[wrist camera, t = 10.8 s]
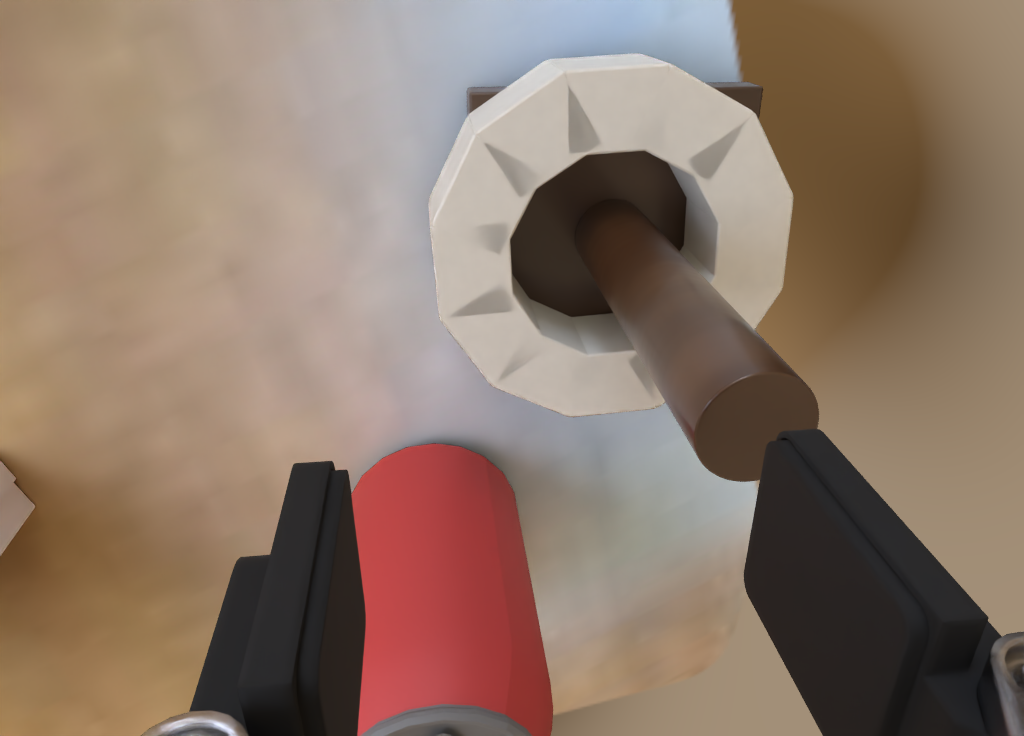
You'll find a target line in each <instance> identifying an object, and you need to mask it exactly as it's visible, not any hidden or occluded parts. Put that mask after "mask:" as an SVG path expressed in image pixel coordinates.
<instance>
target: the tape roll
mask: <svg viewBox="0 0 1024 736" xmlns="http://www.w3.org/2000/svg"><path fill="white" fill-rule="evenodd" d="M634 151H646V152H648V153H650V154H652V155H654V156H656V157H658V158H659V159H661V160H663V161H665V162H667V163H668V164H669V166H670V168H671V170H672V172H673V173H674V175H675V177H676V179H677V181H678V183H679V185H680V186H681V188H682V190H683V192H684V194H685V196H686V216H685V234H684V246H683V247H682V249H681V250H680V253H681V254H682V255H683V256H684V257H685V258H686V259H687V260H688V261H689V262H690V263H691V264H692V265H693V266H694V267H695V268H696V269H697V270H698V271H699V272H700V274H701V275H702V276H703V277H704V278H705V279H706V280H707V281H708V282H709V283H710V284H711V285H712V286H713V287H714V288H715V289H716V290H717V291H718V292H719V293H720V294H721V295H722V297H723V298H724V299H725V300H726V301H727V302H728V303H729V304H730V305H731V306H732V307H733V308H734V309H735V310H736V311H737V312H738V313H739V314H740V315H741V316H742V317H743V318H744V320H745V321H746V322H747V323H748V324H749V325H750V326H751V327H752V328H753V329H754V330H755V329H756V327H757V326H758V324H759V323H760V321H761V320H762V318H763V317H764V315H765V314H766V312H767V311H768V310H769V308H770V307H771V305H772V304H773V302H774V301H775V299H776V298H777V296H778V295H779V293H780V292H781V290H782V287H783V281H784V273H785V265H786V257H787V249H788V240H789V233H790V224H791V216H792V208H793V193H792V191H791V189H790V187H789V185H788V182H787V180H786V178H785V176H784V174H783V172H782V170H781V167H780V165H779V163H778V161H777V159H776V157H775V154H774V152H773V150H772V148H771V146H770V144H769V141H768V139H767V137H766V135H765V133H764V131H763V128H762V126H761V124H760V122H759V120H758V118H757V115H756V114H755V113H753V111H752V110H750V109H749V108H747V107H745V106H744V105H742V104H740V103H738V102H737V101H735V100H733V99H731V98H730V97H728V96H726V95H725V94H723V93H721V92H719V91H718V90H716V89H714V88H713V87H711V86H709V85H707V84H706V83H704V82H702V81H700V80H699V79H697V78H695V77H694V76H692V75H690V74H688V73H687V72H685V71H683V70H682V69H680V68H678V67H676V66H675V65H673V64H670V63H667V62H664V61H662V60H659V59H656V58H653V57H650V56H647V55H644V54H639V53H633V54H618V55H603V56H588V57H573V58H558V59H549V60H545V61H543V62H542V63H541V64H539V65H538V66H536V67H535V68H533V69H532V70H531V71H529V72H528V73H526V74H525V75H524V76H522V77H521V78H519V79H518V80H516V81H515V82H514V83H512V84H511V85H509V86H508V87H507V88H505V89H504V90H502V91H501V92H499V93H498V94H497V95H495V96H494V97H492V98H491V99H489V100H488V101H487V102H485V103H484V104H482V105H481V106H480V107H478V108H477V109H475V110H474V111H472V112H471V113H470V114H469V115H468V117H467V118H466V119H465V121H464V123H463V126H462V128H461V130H460V132H459V134H458V136H457V139H456V141H455V143H454V145H453V147H452V150H451V152H450V154H449V156H448V158H447V160H446V163H445V165H444V167H443V169H442V171H441V173H440V176H439V178H438V180H437V182H436V184H435V186H434V189H433V191H432V193H431V195H430V199H429V220H430V234H431V243H432V253H433V263H434V272H435V282H436V291H437V301H438V311H439V318H440V321H441V322H442V323H443V324H444V326H445V327H446V328H447V330H448V331H449V332H450V333H451V335H452V336H453V337H454V339H455V340H456V341H457V342H458V344H459V345H460V346H461V348H462V349H463V350H464V351H465V353H466V354H467V355H468V357H469V358H470V359H471V360H472V362H473V363H474V364H475V366H476V367H477V368H478V369H479V371H480V372H481V373H482V375H483V376H484V377H485V378H486V380H487V381H488V382H489V383H490V385H491V386H493V387H494V388H497V389H499V390H502V391H504V392H507V393H509V394H512V395H514V396H517V397H519V398H522V399H525V400H527V401H530V402H532V403H535V404H537V405H540V406H542V407H545V408H547V409H550V410H552V411H555V412H558V413H560V414H563V415H565V416H568V417H579V416H589V415H598V414H608V413H618V412H628V411H637V410H647V409H654V408H655V407H656V408H657V407H659V406H661V405H662V404H664V403H666V402H665V400H664V398H663V397H662V395H661V393H660V392H659V390H658V388H657V386H656V385H655V383H654V381H653V380H652V378H651V376H650V375H649V373H648V371H647V369H646V368H645V366H644V364H643V363H642V361H641V359H640V357H639V356H638V354H637V352H636V351H635V349H634V347H633V346H632V344H631V342H630V340H629V339H628V337H627V335H626V334H625V332H624V330H623V328H622V327H621V325H620V323H619V322H618V320H617V318H616V316H615V315H614V313H610V314H599V315H588V316H578V317H570V316H568V315H565V314H563V313H561V312H558V311H556V310H554V309H552V308H549V307H547V306H545V305H543V304H540V303H538V302H536V301H533V300H531V299H529V297H528V296H527V295H526V293H525V292H524V290H523V289H522V287H521V286H520V285H519V283H518V282H517V280H516V279H515V277H514V276H513V274H512V264H511V246H510V239H511V237H512V235H513V233H514V232H515V230H516V228H517V226H518V224H519V222H520V220H521V218H522V216H523V214H524V212H525V210H526V208H527V206H528V204H529V202H530V200H531V199H532V197H533V195H534V193H535V191H536V189H537V188H539V187H540V186H542V185H543V184H545V183H546V182H548V181H549V180H551V179H552V178H553V177H555V176H556V175H558V174H559V173H561V172H562V171H564V170H565V169H567V168H568V167H570V166H571V165H573V164H574V163H576V162H577V161H579V160H580V159H582V158H583V157H585V156H586V155H595V154H608V153H621V152H634Z"/></svg>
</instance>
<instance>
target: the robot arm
mask: <svg viewBox="0 0 1024 736" xmlns="http://www.w3.org/2000/svg"><path fill="white" fill-rule="evenodd" d="M744 583H745V588H746V592H747V594H748V597H749V599H750V600H751V602H752V604H753V606H754V608H755V610H756V611H757V613H758V615H759V617H760V619H761V621H762V623H763V625H764V627H765V628H766V630H767V632H768V634H769V636H770V638H771V640H772V641H773V643H774V645H775V647H776V649H777V651H778V653H779V654H780V656H781V658H782V660H783V662H784V664H785V666H786V668H787V669H788V671H789V673H790V675H791V677H792V679H793V681H794V682H795V684H796V686H797V688H798V690H799V692H800V694H801V695H802V698H803V699H804V701H805V703H806V705H807V707H808V708H809V710H810V712H811V714H812V716H813V718H814V720H815V722H816V724H817V725H818V727H819V729H820V731H821V733H822V735H823V736H1024V632H1017V633H1011V634H1006V635H1005V636H1003V637H1001V635H1000V634H999V633H998V632H997V631H996V630H995V629H994V627H993V626H992V625H991V624H990V623H989V622H988V616H987V615H986V614H985V613H984V612H983V611H982V610H981V609H980V607H979V606H978V605H977V604H976V603H975V602H974V601H973V600H972V599H971V597H970V596H969V595H968V594H967V593H966V592H965V591H964V590H963V589H962V587H961V586H960V585H959V584H958V583H957V582H956V581H955V579H954V578H953V577H952V576H951V575H950V574H949V573H948V572H947V571H946V569H945V568H944V567H943V566H942V565H941V564H940V563H939V562H938V560H937V559H936V558H935V557H934V556H933V555H932V554H931V553H930V551H929V550H928V549H927V548H926V547H925V546H924V545H923V544H922V543H921V541H920V540H919V539H918V538H917V537H916V536H915V535H914V534H913V532H912V531H911V530H910V529H909V528H908V527H907V526H906V525H905V524H904V522H903V521H902V520H901V519H900V518H899V517H898V516H897V515H896V513H895V512H894V511H893V510H892V509H891V508H890V507H889V506H888V504H887V503H886V502H885V501H884V500H883V499H882V498H881V497H880V495H879V494H878V493H877V492H876V491H875V490H874V489H873V488H872V486H871V485H870V484H869V483H868V482H867V481H866V480H865V479H864V478H863V476H862V475H861V474H860V473H859V472H858V471H857V470H856V469H855V468H854V466H853V465H852V464H851V463H850V462H849V461H848V460H847V459H846V458H845V456H844V455H843V454H842V453H841V452H840V451H839V450H838V448H837V447H836V446H835V445H834V444H833V443H832V442H831V441H830V439H829V438H828V437H827V436H826V435H825V434H824V433H823V432H822V431H821V430H818V429H806V430H791V431H782V432H780V433H779V434H778V436H777V438H776V441H770V442H769V443H768V444H767V446H766V450H765V455H764V461H763V466H762V472H761V478H760V484H759V489H758V495H757V501H756V506H755V512H754V518H753V523H752V529H751V535H750V541H749V546H748V552H747V558H746V563H745V569H744ZM365 630H366V611H365V600H364V592H363V584H362V576H361V568H360V560H359V552H358V544H357V537H356V529H355V521H354V513H353V505H352V497H351V489H350V481H349V474H348V471H347V470H335V467H334V464H333V462H332V461H324V462H309V463H295V464H294V465H293V467H292V471H291V475H290V479H289V483H288V487H287V490H286V494H285V498H284V502H283V506H282V510H281V514H280V518H279V522H278V526H277V530H276V534H275V538H274V542H273V546H272V550H271V554H270V555H262V556H249V557H240V558H239V559H238V560H237V562H236V564H235V566H234V569H233V572H232V575H231V578H230V582H229V585H228V588H227V591H226V595H225V598H224V601H223V604H222V608H221V611H220V614H219V617H218V620H217V624H216V627H215V630H214V633H213V637H212V640H211V643H210V646H209V650H208V653H207V656H206V659H205V663H204V666H203V669H202V672H201V676H200V679H199V682H198V685H197V688H196V692H195V695H194V698H193V701H192V705H191V708H190V711H189V712H187V713H184V714H181V715H177V716H174V717H170V718H168V719H166V720H164V721H163V722H161V723H159V724H157V725H155V726H153V727H151V728H149V729H148V730H147V731H146V732H144V733H143V734H142V735H141V736H357V733H358V720H359V708H360V695H361V682H362V669H363V656H364V643H365Z"/></svg>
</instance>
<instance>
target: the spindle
mask: <svg viewBox="0 0 1024 736" xmlns="http://www.w3.org/2000/svg"><path fill="white" fill-rule="evenodd" d="M706 84H707V85H709V86H711V87H713V88H714V89H716V90H718V91H719V92H721V93H723V94H725V95H726V96H728V97H730V98H731V99H733V100H735V101H737V102H738V103H740V104H742V105H744V106H745V107H747V108H749V109H750V110H752V111H753V113H755V114H756V115H757V118H758V120H759V114H760V107H761V100H762V91H763V88H762V87H761V86H758V85H755V84H752V83H749V82H718V83H706ZM505 88H507V87H471V88H468V89H467V117H468V115H469V114H470V113H471V112H472V111H474V110H475V109H477V108H478V107H480V106H481V105H482V104H484V103H485V102H487V101H488V100H489V99H491V98H492V97H494V96H495V95H497V94H498V93H499V92H501V91H502V90H504V89H505ZM685 216H686V196H685V194H684V192H683V190H682V188H681V186H680V185H679V183H678V181H677V179H676V177H675V175H674V173H673V172H672V170H671V168H670V166H669V164H668V163H667V162H665V161H663V160H661V159H659V158H658V157H656V156H654V155H652V154H650V153H648V152H646V151H634V152H621V153H608V154H595V155H586V156H585V157H583V158H582V159H580V160H579V161H577V162H576V163H574V164H573V165H571V166H570V167H568V168H567V169H565V170H564V171H562V172H561V173H559V174H558V175H556V176H555V177H553V178H552V179H551V180H549V181H548V182H546V183H545V184H543V185H542V186H540V187H539V188H537V189H536V191H535V193H534V195H533V197H532V199H531V200H530V202H529V204H528V206H527V208H526V210H525V212H524V214H523V216H522V218H521V220H520V222H519V224H518V226H517V228H516V230H515V232H514V233H513V235H512V237H511V239H510V246H511V264H512V274H513V276H514V277H515V279H516V280H517V282H518V283H519V285H520V286H521V287H522V289H523V290H524V292H525V293H526V295H527V296H528V297H529V299H531V300H533V301H536V302H538V303H540V304H543V305H545V306H547V307H549V308H552V309H554V310H556V311H558V312H561V313H563V314H565V315H568V316H570V317H578V316H588V315H599V314H610V313H614V315H615V316H616V318H617V320H618V322H619V323H620V325H621V327H622V328H623V330H624V332H625V334H626V335H627V337H628V339H629V340H630V342H631V344H632V346H633V347H634V349H635V351H636V352H637V354H638V356H639V357H640V359H641V361H642V363H643V364H644V366H645V368H646V369H647V371H648V373H649V375H650V376H651V378H652V380H653V381H654V383H655V385H656V386H657V388H658V390H659V392H660V393H661V395H662V397H663V398H664V400H665V402H666V404H667V405H668V407H669V409H670V410H671V412H672V414H673V416H674V417H675V419H676V421H677V422H678V424H679V426H680V427H681V429H682V431H683V433H684V434H685V436H686V438H687V439H688V441H689V443H690V445H691V446H692V448H693V450H694V451H695V453H696V455H697V456H698V458H699V460H700V461H701V463H702V464H703V465H704V466H705V467H706V468H707V469H708V470H709V471H711V472H712V473H713V474H715V475H717V476H719V477H722V478H724V479H727V480H732V481H740V482H747V481H756V480H760V478H761V472H762V466H763V461H764V455H765V450H766V446H767V444H768V443H769V442H770V441H776V438H777V436H778V434H779V433H780V432H782V431H791V430H806V429H817V427H818V421H819V409H818V403H817V400H816V398H815V396H814V394H813V392H812V390H811V389H810V388H809V387H808V386H807V384H806V383H805V382H804V381H803V380H802V379H801V378H800V377H799V376H798V375H797V374H796V373H795V372H794V371H793V370H792V369H791V368H790V367H789V366H788V365H787V364H786V362H785V361H783V359H782V358H781V357H780V356H779V355H778V354H777V353H776V352H775V351H774V350H773V349H772V348H771V347H770V346H769V345H768V344H767V343H766V341H764V339H763V338H762V337H761V336H760V335H759V334H758V333H757V332H756V331H755V330H754V329H753V328H752V327H751V326H750V325H749V324H748V323H747V322H746V321H745V320H744V318H743V317H742V316H741V315H740V314H739V313H738V312H737V311H736V310H735V309H734V308H733V307H732V306H731V305H730V304H729V303H728V302H727V301H726V300H725V299H724V298H723V297H722V295H721V294H720V293H719V292H718V291H717V290H716V289H715V288H714V287H713V286H712V285H711V284H710V283H709V282H708V281H707V280H706V279H705V278H704V277H703V276H702V275H701V274H700V272H699V271H698V270H697V269H696V268H695V267H694V266H693V265H692V264H691V263H690V262H689V261H688V260H687V259H686V258H685V257H684V256H683V255H682V254H681V253H680V250H681V249H682V247H683V246H684V234H685Z"/></svg>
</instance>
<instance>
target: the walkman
mask: <svg viewBox="0 0 1024 736" xmlns="http://www.w3.org/2000/svg"><path fill="white" fill-rule="evenodd" d="M15 480H16V477H15V476H14V475H13V474H12V473H11V472H10V471H9V470H8V469H7V467H6V466H5V465H4V464H3V463H2V462H1V461H0V556H1V554H2V553H3V552H4V550H5V549H6V547H7V546H8V545H9V543H10V542H11V540H12V539H13V538H14V536H15V535H16V533H17V532H18V531H19V529H20V528H21V526H22V525H23V524H24V522H25V521H26V519H27V518H28V517H29V515H30V514H31V512H32V511H33V510H34V508H35V505H34V504H33V503H32V502H31V501H30V500H29V499H28V498H27V496H26V495H25V494H24V493H23V492H22V491H21V490H20V489H19V488H18V487H17V486H16V485H15V483H14V481H15Z"/></svg>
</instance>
